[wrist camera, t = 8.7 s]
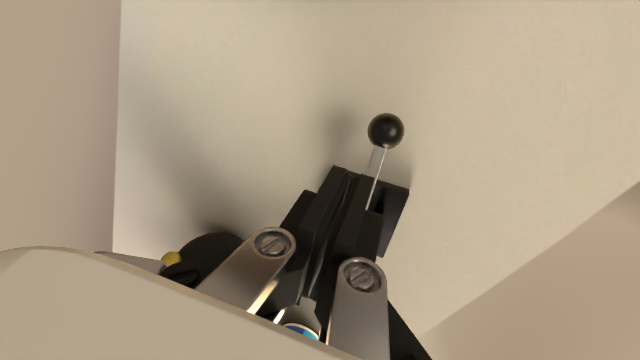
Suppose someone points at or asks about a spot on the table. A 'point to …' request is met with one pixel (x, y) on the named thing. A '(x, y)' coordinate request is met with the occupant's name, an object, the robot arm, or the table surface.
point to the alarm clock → (203, 247)
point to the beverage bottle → (302, 330)
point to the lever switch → (382, 211)
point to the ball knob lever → (382, 141)
